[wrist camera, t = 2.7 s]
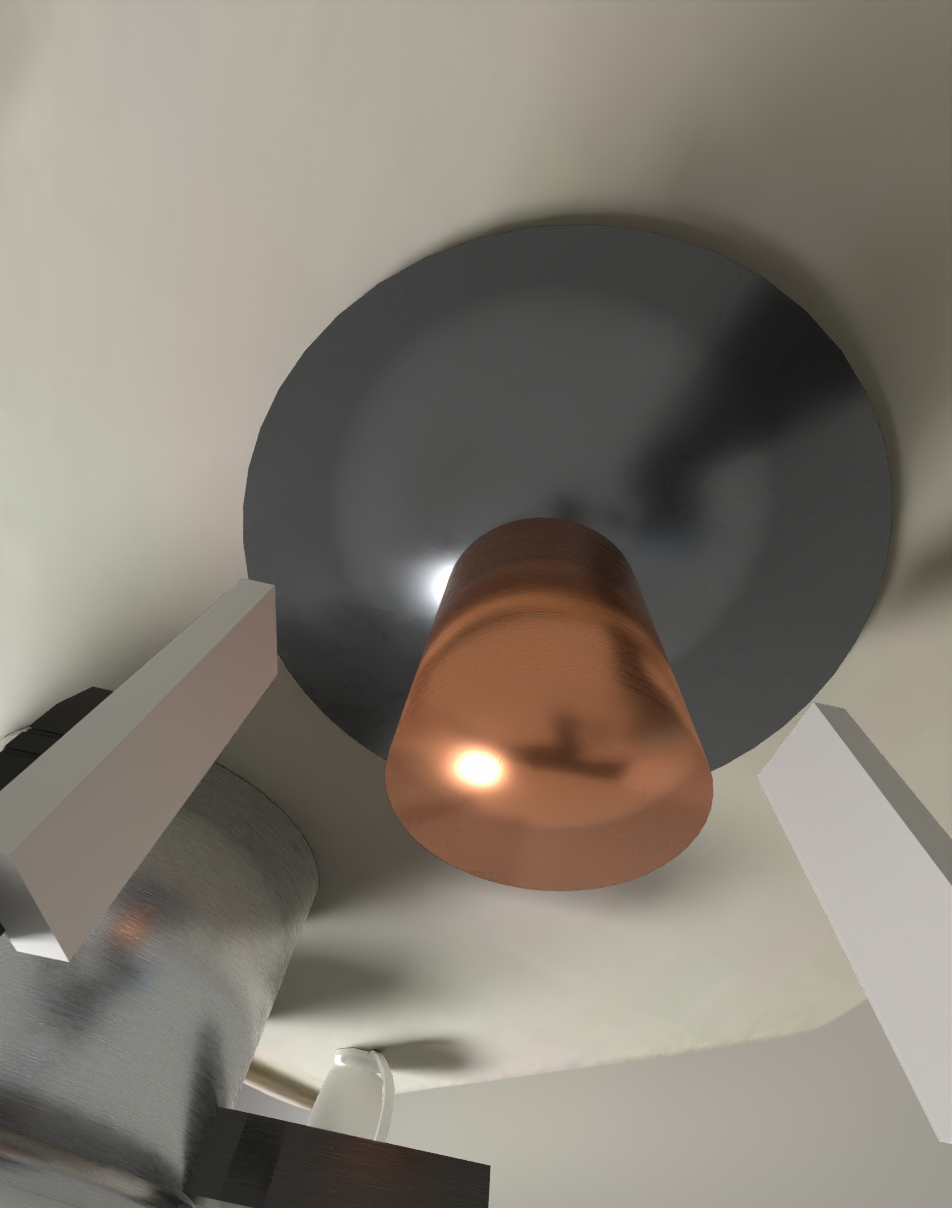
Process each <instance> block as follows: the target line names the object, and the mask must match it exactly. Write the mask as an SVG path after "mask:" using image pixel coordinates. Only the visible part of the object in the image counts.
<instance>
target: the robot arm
mask: <svg viewBox="0 0 952 1208" xmlns="http://www.w3.org/2000/svg"><path fill="white" fill-rule="evenodd" d="M277 675H278V663H277V634H276V604H275V585H272V584H267V583H263V582H258V581H253V580H249V579H244V578H243V579H241V580H240V581H239V582H238V583H237V584H236V585H235V586H234V587H232V588H231V589H230V590H229V591H228V592H227V593H226V594H224V595H223V596H222V597H221V598H220V599H219V600H218V601H216V602H215V603H214V604H213V605H212V606H211V607H210V608H208V609H207V610H206V611H205V612H204V613H203V614H202V615H200V616H199V617H198V618H197V619H196V620H195V621H194V622H192V623H191V624H190V625H189V626H188V627H187V628H186V629H185V630H183V631H182V632H181V633H180V634H179V635H178V636H177V637H175V638H174V639H173V640H172V641H171V642H170V643H169V644H167V645H166V646H165V647H164V648H163V649H162V650H161V651H159V652H158V653H157V654H156V655H155V656H154V657H153V658H151V659H150V660H149V661H148V662H147V663H146V664H145V665H143V666H142V667H141V668H140V669H139V670H138V671H137V672H136V673H134V674H133V675H132V676H131V677H130V678H129V679H128V680H126V681H125V682H124V683H123V684H122V685H121V686H120V687H118V688H117V689H116V690H115V691H110V690H105V689H100V688H96V687H91V688H89V689H87V690H85V691H83V692H81V693H79V694H77V695H74V696H72V697H70V698H68V699H66V700H64V701H62V702H60V703H58V704H56V705H55V706H54V707H52V708H51V709H50V710H49V711H47V712H46V713H45V714H44V715H42V716H41V717H40V718H39V719H37V720H36V721H35V722H34V723H32V724H31V725H30V726H29V727H28V730H27V731H26V732H21V733H20V734H19V735H17V736H16V737H15V738H14V739H12V740H11V741H10V742H9V743H7V744H6V745H5V746H4V749H3V750H2V751H1V752H0V937H1V935H2V934H3V933H5V934H6V936H7V937H8V939H9V940H10V942H11V943H12V945H13V946H14V948H15V949H16V951H18V952H23V953H28V954H33V955H37V956H42V957H47V958H52V959H57V960H62V961H67V962H69V961H70V960H71V959H72V957H73V956H74V954H75V953H76V952H77V950H78V949H79V948H80V946H81V945H82V943H83V942H84V941H85V939H86V938H87V937H88V935H89V934H90V932H91V931H92V930H93V928H94V927H95V926H96V924H97V923H98V921H99V920H100V919H101V917H102V916H103V915H104V913H105V912H106V910H107V909H108V908H109V906H110V905H111V903H112V902H113V901H114V899H115V898H116V897H117V895H118V894H119V892H120V891H121V890H122V888H123V887H124V886H125V884H126V883H127V881H128V880H129V879H130V877H131V876H132V875H133V873H134V872H135V870H136V869H137V868H138V866H139V865H140V864H141V862H142V861H143V859H144V858H145V857H146V855H147V854H148V852H149V851H150V850H151V848H152V847H153V846H154V844H155V843H156V841H157V840H158V839H159V837H160V836H161V835H162V833H163V832H164V830H165V829H166V828H167V826H168V825H169V824H170V822H171V821H172V819H173V818H174V817H175V815H176V814H177V813H178V811H179V810H180V808H181V807H182V806H183V804H184V803H185V801H186V800H187V799H188V797H189V796H190V795H191V793H192V792H193V790H194V789H195V788H196V786H197V785H198V784H199V782H200V781H201V779H202V778H203V777H204V775H205V774H206V773H207V771H208V770H209V768H210V767H211V766H212V764H213V763H214V762H215V760H216V759H217V757H218V756H219V755H220V753H221V752H222V750H223V749H224V748H225V746H226V745H227V744H228V742H229V741H230V739H231V738H232V737H233V735H234V734H235V733H236V731H237V730H238V728H239V727H240V726H241V724H242V723H243V722H244V720H245V719H246V717H247V716H248V715H249V713H250V712H251V711H252V709H253V708H254V706H255V705H256V704H257V702H258V701H259V699H260V698H261V697H262V695H263V694H264V693H265V691H266V690H267V688H268V687H269V686H270V684H271V683H272V682H273V680H274V679H275V677H276V676H277ZM757 778H758V780H759V782H760V784H761V786H762V788H763V790H764V792H765V794H766V796H767V798H768V800H769V802H770V804H771V806H772V808H773V810H774V812H775V814H776V816H777V818H778V820H779V822H780V824H781V826H782V828H783V830H784V832H785V834H786V836H787V838H788V840H789V842H790V844H791V846H792V848H793V850H794V852H795V854H796V856H797V858H798V860H799V862H800V864H801V866H802V868H803V870H804V872H805V874H806V876H807V878H808V880H809V882H810V884H811V886H812V888H813V890H814V892H815V894H816V896H817V898H818V900H819V902H820V904H821V906H822V908H823V910H824V912H825V914H826V916H827V918H828V920H829V922H830V924H831V926H832V928H833V930H834V932H835V934H836V936H837V938H838V940H839V942H840V944H841V946H842V948H843V950H844V952H845V954H846V956H847V958H848V960H849V962H850V964H851V966H852V968H853V970H854V972H855V974H856V976H857V978H858V980H859V982H860V984H861V986H862V988H863V990H864V992H865V994H866V996H867V998H868V1000H869V1002H870V1004H871V1006H872V1008H873V1009H874V1012H875V1014H876V1016H877V1018H878V1020H879V1022H880V1024H881V1026H882V1028H883V1030H884V1032H885V1034H886V1036H887V1038H888V1040H889V1041H890V1044H891V1046H892V1048H893V1050H894V1052H895V1054H896V1056H897V1057H898V1059H899V1062H900V1064H901V1066H902V1068H903V1069H904V1071H905V1073H906V1075H907V1078H908V1079H909V1081H910V1084H911V1085H912V1088H913V1089H914V1091H915V1093H916V1095H917V1097H918V1099H919V1101H920V1103H921V1105H922V1107H923V1109H924V1111H925V1113H926V1115H927V1117H928V1119H929V1121H930V1123H931V1125H932V1127H933V1129H934V1131H935V1133H936V1135H937V1137H938V1139H939V1141H940V1142H945V1143H950V1144H952V839H951V838H950V837H949V836H948V834H947V833H946V832H945V831H944V829H943V828H942V827H941V826H940V825H939V823H938V822H937V821H936V820H935V819H934V817H933V816H932V815H931V814H930V812H929V811H928V810H927V809H926V808H925V806H924V805H923V804H922V803H921V801H920V800H919V799H918V798H917V797H916V795H915V794H914V793H913V792H912V790H911V789H910V788H909V787H908V786H907V784H906V783H905V782H904V781H903V779H902V778H901V777H900V776H899V775H898V773H897V772H896V771H895V770H894V769H893V767H892V766H891V765H890V764H889V762H888V761H887V760H886V759H885V758H884V756H883V755H882V754H881V753H880V751H879V750H878V749H877V748H876V747H875V745H874V744H873V743H872V742H871V740H870V739H869V738H868V737H867V736H866V734H865V733H864V732H863V731H862V729H861V728H860V727H859V726H858V725H857V723H856V722H855V721H854V720H853V718H852V717H851V716H850V715H849V714H848V712H847V711H846V710H845V709H843V708H838V707H834V706H829V705H824V704H820V703H815V702H813V704H812V705H811V706H810V708H809V709H808V710H807V712H806V713H805V714H804V716H803V717H802V718H801V719H800V721H799V722H798V723H797V725H796V726H795V727H794V729H793V730H792V731H791V733H790V734H789V735H788V737H787V738H786V739H785V741H784V742H783V743H782V745H781V746H780V747H779V748H778V750H777V751H776V752H775V754H774V755H773V756H772V758H771V759H770V760H769V762H768V763H767V764H766V766H765V767H764V768H763V770H762V771H761V772H760V773H759V775H758V776H757Z"/></svg>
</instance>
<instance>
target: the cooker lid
mask: <svg viewBox="0 0 952 1208" xmlns="http://www.w3.org/2000/svg"><path fill="white" fill-rule="evenodd" d="M891 529H892V482H891V477H890V471H889V466H888V460H887V455H886V449H885V444H884V438H883V435H882V433H881V430H880V427H879V425H878V422H877V419H876V417H875V414H874V411H873V409H872V406H871V403H870V401H869V398H868V395H867V393H866V391H865V389H864V388H863V386H862V384H861V383H860V381H859V379H858V378H857V376H856V375H855V373H854V371H853V370H852V368H851V366H850V365H849V363H848V361H847V360H846V358H845V356H844V355H843V353H842V351H841V350H840V349H839V348H838V346H837V345H836V344H835V343H834V342H833V341H832V340H831V339H830V337H829V336H828V335H827V334H826V333H825V332H824V331H823V330H822V328H821V327H820V326H819V325H818V324H817V323H816V322H815V321H814V320H813V318H812V317H811V316H810V315H809V314H808V313H807V312H806V311H805V310H804V309H803V308H802V307H800V306H799V305H798V304H796V303H795V302H794V301H792V300H791V299H790V298H789V297H787V296H786V295H785V294H783V293H782V292H781V291H780V290H778V289H777V288H776V287H774V286H773V285H772V284H771V283H769V282H768V281H767V280H765V279H764V278H763V277H761V276H759V275H757V274H755V273H754V272H752V271H750V270H748V269H746V268H744V267H742V266H740V265H738V264H736V263H734V262H732V261H731V260H729V259H727V258H725V257H723V256H721V255H719V254H717V253H715V252H713V251H711V250H708V249H705V248H702V247H699V246H695V245H692V244H689V243H686V242H683V241H680V240H677V239H673V238H670V237H667V236H664V235H661V234H658V233H653V232H645V231H638V230H631V229H624V228H616V227H609V226H602V225H573V226H537V227H532V228H527V229H522V230H517V231H511V232H506V233H501V234H496V235H491V236H485V237H480V238H477V239H475V240H472V241H469V242H466V243H464V244H461V245H458V246H455V247H453V248H450V249H447V250H444V251H442V252H439V253H436V254H433V255H431V256H428V257H426V258H424V259H422V260H420V261H419V262H417V263H415V264H413V265H411V266H410V267H408V268H406V269H404V270H402V271H400V272H399V273H397V274H395V275H393V276H391V277H390V278H388V279H386V280H384V281H382V282H381V283H379V284H378V285H376V286H375V287H374V288H373V289H371V290H370V291H369V292H367V293H366V294H365V295H364V296H362V297H361V298H360V299H358V300H357V301H356V302H355V303H353V304H352V305H351V306H350V307H348V308H347V309H346V310H344V311H343V312H342V313H341V314H339V315H338V316H337V317H336V318H335V319H334V320H333V321H332V323H331V324H330V325H329V326H328V327H327V328H326V329H325V330H324V331H323V332H322V333H321V334H320V335H319V336H318V338H317V339H316V340H315V341H314V342H313V343H312V344H311V345H310V346H309V347H308V348H307V349H306V350H305V352H304V353H303V355H302V356H301V358H300V359H299V360H298V362H297V363H296V365H295V366H294V368H293V369H292V371H291V372H290V374H289V375H288V377H287V378H286V380H285V381H284V383H283V384H282V386H281V387H280V389H279V390H278V392H277V395H276V397H275V399H274V401H273V403H272V405H271V407H270V409H269V411H268V414H267V416H266V418H265V420H264V422H263V424H262V426H261V428H260V432H259V435H258V438H257V442H256V445H255V449H254V452H253V455H252V459H251V462H250V465H249V470H248V477H247V484H246V491H245V498H244V505H243V543H244V550H245V557H246V564H247V571H248V578H249V580H253V581H258V582H263V583H267V584H272V585H275V604H276V634H277V652H278V654H279V656H280V657H281V659H282V661H283V663H284V664H285V666H286V668H287V669H288V671H289V672H290V673H291V675H292V676H293V677H294V679H295V680H296V681H297V683H298V684H299V685H300V687H301V688H302V689H303V691H304V692H305V693H306V694H307V695H308V697H309V698H310V699H311V700H312V701H313V702H314V703H315V704H316V705H317V706H318V707H319V708H320V710H321V711H322V712H323V713H324V714H325V715H326V716H327V717H328V718H330V719H331V720H332V721H333V722H334V723H335V724H336V725H338V726H339V727H340V728H341V729H342V730H343V731H344V732H346V733H347V734H348V735H349V736H351V737H352V738H353V739H355V740H356V741H357V742H359V743H360V744H362V745H363V746H364V747H366V748H367V749H369V750H370V751H371V752H373V753H375V754H376V755H378V756H380V757H382V758H383V759H385V760H387V762H386V766H385V784H386V790H387V795H388V798H389V801H390V804H391V806H392V808H393V810H394V812H395V814H396V816H397V818H398V819H399V821H400V822H401V823H402V825H403V826H404V827H405V829H406V830H407V831H408V832H409V833H410V834H411V835H412V837H413V838H414V839H415V840H416V841H417V842H419V843H420V844H421V845H422V846H423V847H425V848H426V849H427V850H428V851H429V852H431V853H432V854H434V855H435V856H437V857H438V858H440V859H441V860H443V861H445V862H447V863H448V864H450V865H452V866H454V867H456V868H458V869H460V870H462V871H465V872H467V873H469V874H472V875H474V876H477V877H480V878H483V879H486V880H489V881H493V882H496V883H500V884H504V885H509V886H514V887H520V888H526V889H535V890H549V891H570V890H585V889H593V888H600V887H605V886H610V885H615V884H618V883H622V882H625V881H629V880H632V879H634V878H637V877H640V876H642V875H645V874H647V873H649V872H651V871H653V870H655V869H657V868H659V867H661V866H663V865H664V864H666V863H667V862H669V861H670V860H672V859H673V858H675V857H676V856H677V855H679V854H680V853H681V852H682V851H683V850H684V849H686V848H687V847H688V846H689V845H690V844H691V842H692V841H693V840H694V839H695V838H696V837H697V835H698V834H699V832H700V831H701V829H702V827H703V826H704V824H705V823H706V820H707V817H708V815H709V812H710V810H711V805H712V799H713V779H712V775H711V771H713V770H715V769H717V768H719V767H721V766H723V765H726V764H727V763H729V762H731V761H732V760H734V759H736V758H738V757H739V756H741V755H743V754H744V753H746V752H748V751H749V750H751V749H753V748H755V747H756V746H757V745H759V744H760V743H761V742H763V741H764V740H766V739H767V738H768V737H770V736H771V735H772V734H774V733H775V732H776V731H778V730H779V729H780V728H782V727H783V726H784V725H785V724H787V723H788V722H789V721H790V720H791V719H792V718H793V717H794V716H795V715H796V714H797V713H799V712H800V711H801V710H802V709H803V708H804V707H805V706H806V705H807V704H808V703H809V702H810V701H811V700H812V699H813V698H814V697H815V696H816V694H817V693H818V692H819V691H820V690H821V689H822V687H823V686H824V685H825V684H826V683H827V682H828V681H829V679H830V678H831V677H832V676H833V675H834V674H835V672H836V671H837V669H838V668H839V666H840V665H841V663H842V662H843V660H844V659H845V657H846V656H847V654H848V653H849V651H850V650H851V648H852V647H853V645H854V644H855V642H856V640H857V638H858V636H859V634H860V632H861V630H862V628H863V626H864V624H865V622H866V620H867V618H868V616H869V613H870V611H871V609H872V607H873V605H874V601H875V598H876V595H877V592H878V589H879V586H880V583H881V580H882V577H883V574H884V570H885V567H886V560H887V554H888V548H889V541H890V535H891Z"/></svg>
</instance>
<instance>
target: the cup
mask: <svg viewBox="0 0 952 1208" xmlns="http://www.w3.org/2000/svg"><path fill="white" fill-rule="evenodd" d="M334 1062H335V1063H336V1064H338V1065H340V1066H334V1067H332V1068H331V1069H330V1071H329V1074H328V1076H327V1078H326V1080H325V1082H324V1084H323V1086H322V1088H321V1091H320V1093H319V1095H318V1097H317V1099H316V1101H315V1103H314V1106H313V1109H312V1111H311V1114H310V1117H309V1119H308V1122H307V1124H306V1126H310V1127H315V1128H320V1129H324V1130H329V1131H333V1132H338V1133H343V1134H347V1135H352V1136H356V1137H361V1138H366V1139H370V1140H375V1141H379V1142H384V1143H385V1142H386V1139H387V1135H388V1131H389V1126H390V1122H391V1117H392V1112H393V1103H394V1092H395V1089H394V1082H393V1076H392V1073H391V1070H390V1067H389V1065H388V1063H387V1061H386V1059H385V1058H384V1056H383V1055H382V1054H381V1053H378V1052H376V1051H373V1050H372V1051H364V1050H360V1049H356V1048H345V1049H337V1052H336V1055H335V1059H334ZM377 1073H381V1076H382V1079H381V1077H379V1076H378V1075H376V1074H377ZM382 1083H383V1088H384V1090H383V1101H382Z"/></svg>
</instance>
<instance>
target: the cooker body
mask: <svg viewBox="0 0 952 1208" xmlns="http://www.w3.org/2000/svg"><path fill="white" fill-rule="evenodd" d="M27 730H28V727H27V728H24V729H21V730H18V731H15V732H14V733H12V734H10V735H8V736H6V737H5V738H3V739H1V740H0V752H1V751H2V750H3V749H4V746H5V745H6V744H7V743H9V742H10V741H11V740H12V739H14V738H15V737H16V736H17V735H19V734H20V733H21V732H26V731H27ZM318 882H319V878H318V868H317V865H316V861H315V858H314V855H313V853H312V851H311V849H310V847H309V845H308V843H307V841H306V840H305V838H304V837H303V835H302V834H301V833H300V831H299V830H298V828H297V827H296V826H295V825H294V823H293V822H292V821H291V820H290V819H289V818H288V817H287V816H286V815H285V813H284V812H283V811H282V810H280V809H279V808H278V807H277V806H276V805H275V804H274V803H273V802H272V801H271V800H269V799H268V798H267V797H266V796H265V795H263V794H262V793H261V792H259V791H258V790H257V789H255V788H254V787H253V786H251V785H250V784H249V783H247V782H246V781H244V780H243V779H241V778H240V777H238V776H236V775H235V774H233V773H232V772H230V771H229V770H227V769H225V768H224V767H222V766H220V765H218V764H216V763H213V764H212V766H211V767H210V768H209V770H208V771H207V773H206V774H205V775H204V777H203V778H202V779H201V781H200V782H199V784H198V785H197V786H196V788H195V789H194V790H193V792H192V793H191V795H190V796H189V797H188V799H187V800H186V801H185V803H184V804H183V806H182V807H181V808H180V810H179V811H178V813H177V814H176V815H175V817H174V818H173V819H172V821H171V822H170V824H169V825H168V826H167V828H166V829H165V830H164V832H163V833H162V835H161V836H160V837H159V839H158V840H157V841H156V843H155V844H154V846H153V847H152V848H151V850H150V851H149V852H148V854H147V855H146V857H145V858H144V859H143V861H142V862H141V864H140V865H139V866H138V868H137V869H136V870H135V872H134V873H133V875H132V876H131V877H130V879H129V880H128V881H127V883H126V884H125V886H124V887H123V888H122V890H121V891H120V892H119V894H118V895H117V897H116V898H115V899H114V901H113V902H112V903H111V905H110V906H109V908H108V909H107V910H106V912H105V913H104V915H103V916H102V917H101V919H100V920H99V921H98V923H97V924H96V926H95V927H94V928H93V930H92V931H91V932H90V934H89V935H88V937H87V938H86V939H85V941H84V942H83V943H82V945H81V946H80V948H79V949H78V950H77V952H76V953H75V954H74V956H73V957H72V959H71V960H70V961H69V962H67V961H62V960H57V959H52V958H47V957H42V956H37V955H33V954H28V953H23V952H18V951H16V949H15V948H14V946H13V945H12V943H11V942H10V940H9V939H8V937H7V936H6V934H5V933H3V934H2V935H1V937H0V1208H488V1201H489V1183H490V1166H489V1165H485V1164H480V1163H475V1162H471V1161H467V1160H462V1159H457V1158H453V1157H448V1156H443V1155H439V1154H435V1153H430V1152H425V1151H420V1150H416V1149H411V1148H407V1147H402V1146H398V1145H393V1144H389V1143H384V1142H379V1141H375V1140H370V1139H366V1138H361V1137H356V1136H352V1135H347V1134H343V1133H338V1132H333V1131H329V1130H324V1129H320V1128H315V1127H310V1126H306V1125H301V1124H297V1123H292V1122H287V1121H283V1120H278V1119H274V1118H269V1117H264V1116H259V1115H255V1114H251V1113H246V1112H241V1111H237V1110H233V1108H234V1105H235V1102H236V1100H237V1097H238V1095H239V1092H240V1089H241V1087H242V1084H243V1082H244V1079H245V1076H246V1074H247V1071H248V1069H249V1066H250V1064H251V1061H252V1058H253V1056H254V1053H255V1051H256V1048H257V1045H258V1043H259V1040H260V1038H261V1035H262V1033H263V1030H264V1027H265V1025H266V1022H267V1020H268V1017H269V1014H270V1012H271V1009H272V1007H273V1004H274V1001H275V999H276V996H277V994H278V991H279V989H280V986H281V983H282V981H283V978H284V976H285V973H286V970H287V968H288V965H289V963H290V960H291V957H292V955H293V952H294V950H295V947H296V945H297V942H298V939H299V937H300V934H301V932H302V929H303V926H304V924H305V921H306V919H307V916H308V913H309V911H310V908H311V906H312V903H313V901H314V898H315V895H316V893H317V888H318Z"/></svg>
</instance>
